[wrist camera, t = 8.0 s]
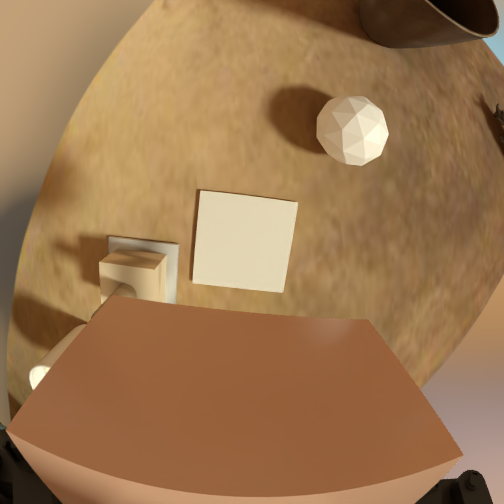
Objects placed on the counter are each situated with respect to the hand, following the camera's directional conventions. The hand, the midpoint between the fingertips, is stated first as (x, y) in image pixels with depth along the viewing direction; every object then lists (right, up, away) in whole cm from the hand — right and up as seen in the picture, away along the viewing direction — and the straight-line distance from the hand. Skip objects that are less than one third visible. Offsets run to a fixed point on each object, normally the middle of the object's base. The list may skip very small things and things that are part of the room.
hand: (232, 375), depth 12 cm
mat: (0, +6, +22) cm, 23 cm away
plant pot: (+18, +36, +15) cm, 43 cm away
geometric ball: (+11, +19, +19) cm, 29 cm away
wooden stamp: (-13, +2, +23) cm, 26 cm away
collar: (0, -1, -2) cm, 2 cm away
